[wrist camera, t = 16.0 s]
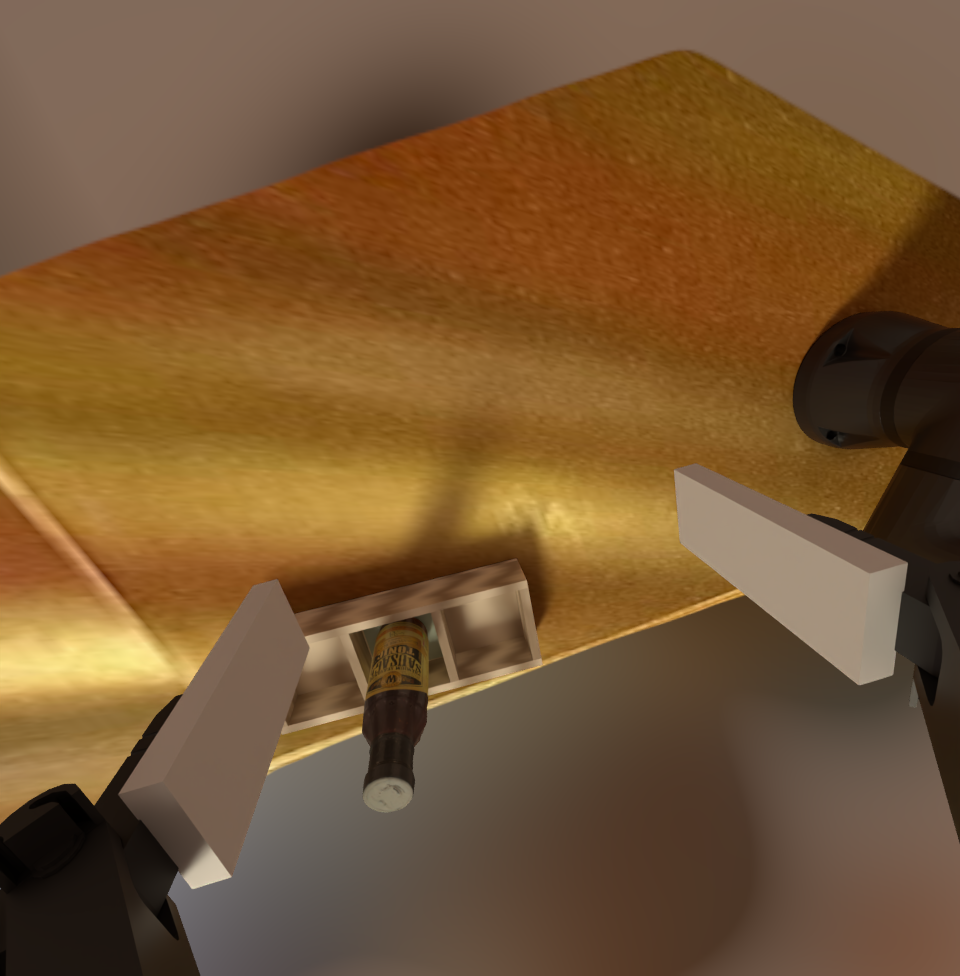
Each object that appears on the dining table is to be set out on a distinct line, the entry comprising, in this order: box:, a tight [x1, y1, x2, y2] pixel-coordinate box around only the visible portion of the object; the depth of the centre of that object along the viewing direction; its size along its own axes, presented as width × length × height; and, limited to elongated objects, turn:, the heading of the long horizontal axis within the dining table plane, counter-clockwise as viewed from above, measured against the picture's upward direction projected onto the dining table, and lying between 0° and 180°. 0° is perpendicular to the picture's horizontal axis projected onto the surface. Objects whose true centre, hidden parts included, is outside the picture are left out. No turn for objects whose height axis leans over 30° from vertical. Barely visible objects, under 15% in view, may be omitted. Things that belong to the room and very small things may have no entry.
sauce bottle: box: [362, 617, 429, 812], centre depth 44 cm, size 6×6×20 cm
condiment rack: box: [281, 558, 543, 735], centre depth 52 cm, size 31×12×5 cm, turn 101°
